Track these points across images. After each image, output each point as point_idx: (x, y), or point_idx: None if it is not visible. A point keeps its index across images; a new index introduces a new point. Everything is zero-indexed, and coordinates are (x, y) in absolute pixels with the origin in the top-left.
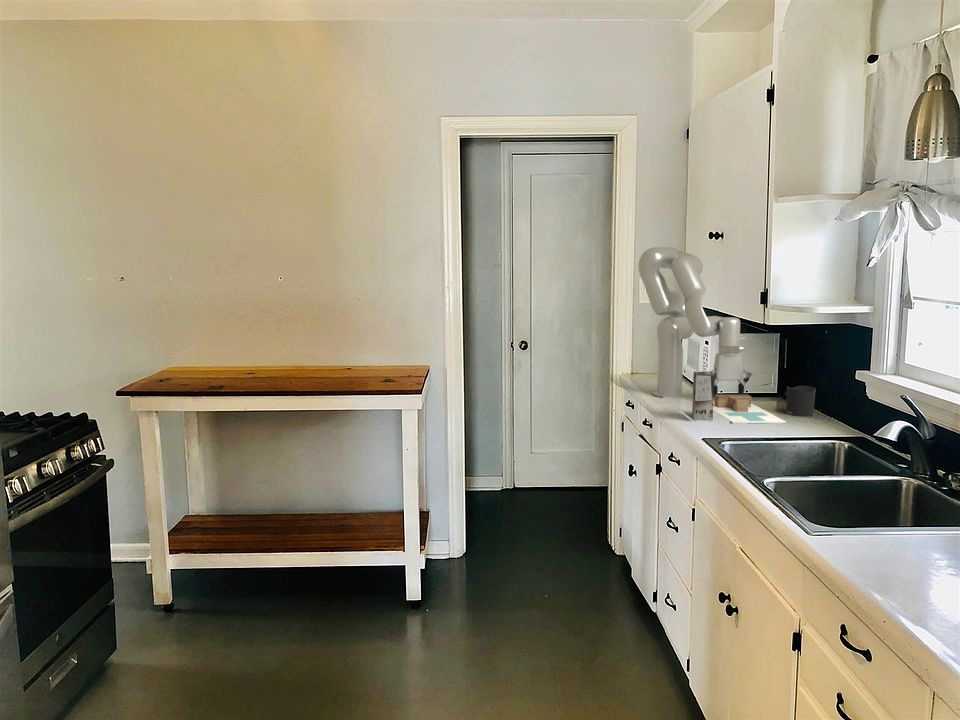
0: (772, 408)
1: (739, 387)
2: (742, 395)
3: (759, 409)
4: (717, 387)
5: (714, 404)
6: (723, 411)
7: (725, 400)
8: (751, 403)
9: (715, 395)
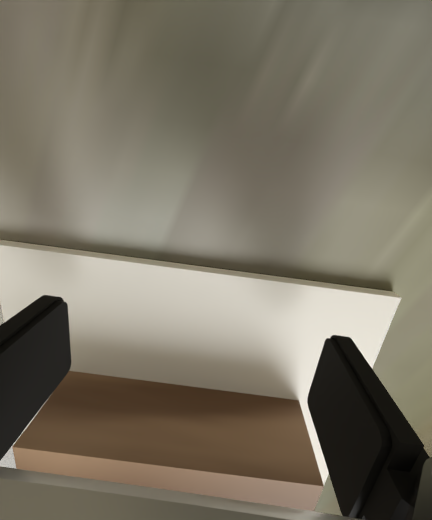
0: (425, 450)
1: (347, 439)
2: None
3: None
4: (4, 452)
5: (74, 349)
6: None
7: None
8: (372, 362)
9: (17, 447)
